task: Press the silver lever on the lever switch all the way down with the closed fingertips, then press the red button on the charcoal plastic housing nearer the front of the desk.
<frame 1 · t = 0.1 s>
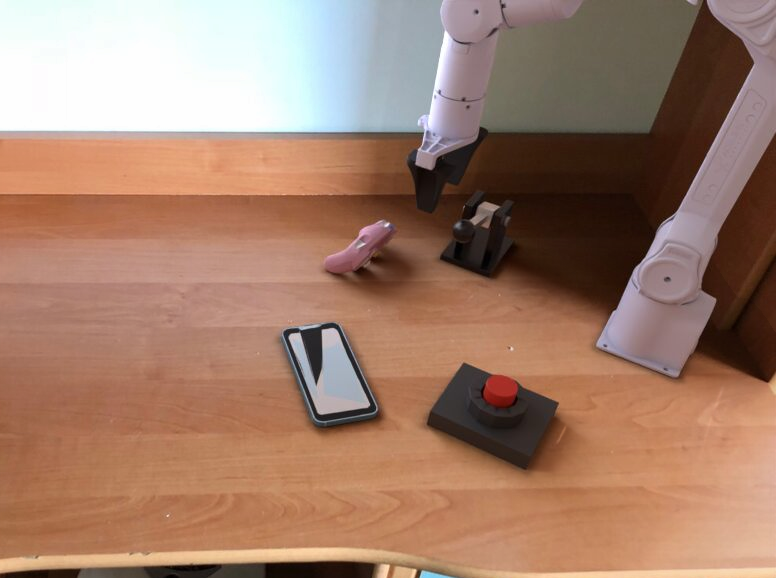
hand: (438, 195, 98), 10 cm above the table, tool pointing down, fingers open, 7 cm apart
button: (500, 391, 82), point 4 cm above the table, slide at 0.1 cm
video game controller: (359, 263, 105), on the table
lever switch: (476, 252, 107), on the table
press lever: (475, 222, 99), point 7 cm above the table, hinge at 15.0°
button box: (490, 420, 85), on the table
smartphone: (326, 375, 89), on the table
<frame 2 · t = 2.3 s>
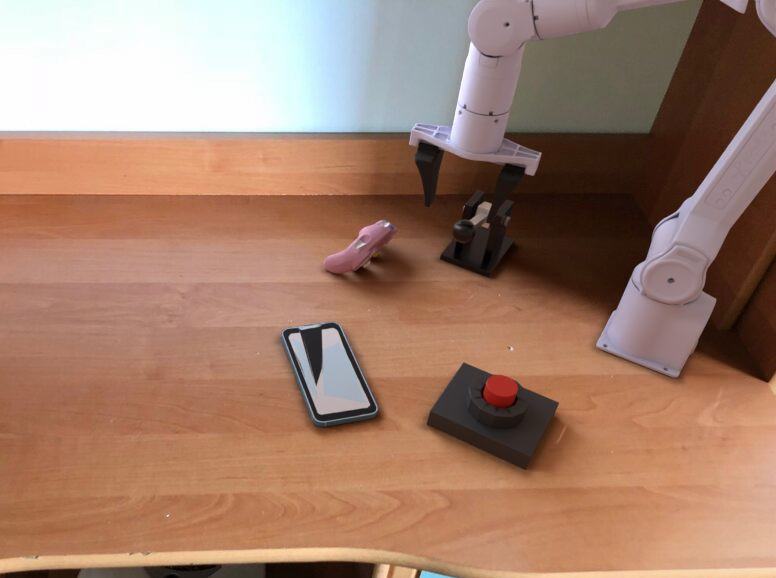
hand: (459, 211, 95), 10 cm above the table, tool pointing down, fingers open, 7 cm apart
nothing on the table moved.
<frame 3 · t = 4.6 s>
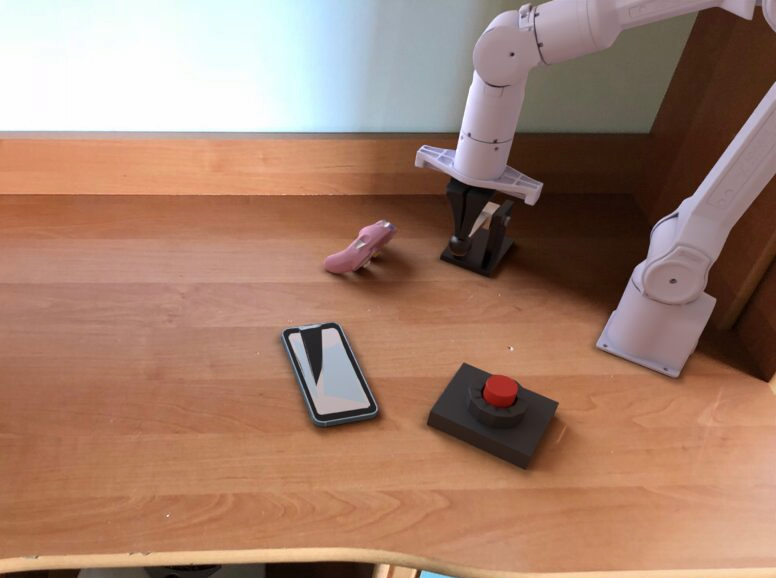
hand: (462, 234, 96), 8 cm above the table, tool pointing down, fingers closed, pressing on press lever
press lever: (473, 229, 100), point 6 cm above the table, hinge at 3.6°, touching gripper
everything else where it was.
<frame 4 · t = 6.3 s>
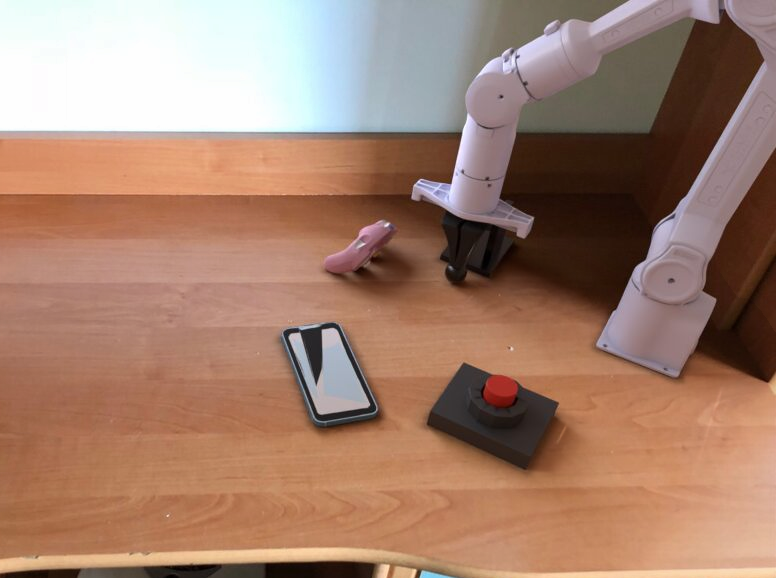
hand: (457, 263, 100), 3 cm above the table, tool pointing down, fingers closed, pressing on press lever
press lever: (471, 243, 102), point 4 cm above the table, hinge at -28.9°, touching gripper
everything else where it was.
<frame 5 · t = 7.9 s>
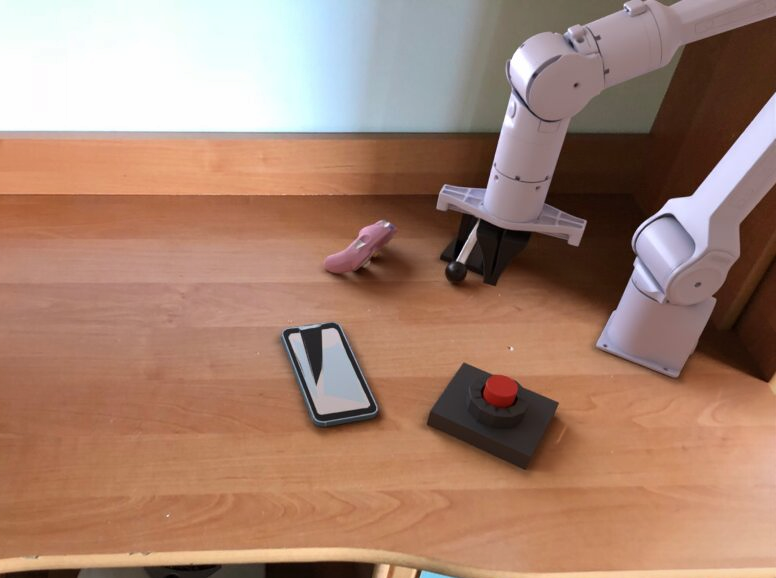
hand: (491, 279, 86), 10 cm above the table, tool pointing down, fingers closed
press lever: (471, 243, 102), point 4 cm above the table, hinge at -28.8°
everything else where it was.
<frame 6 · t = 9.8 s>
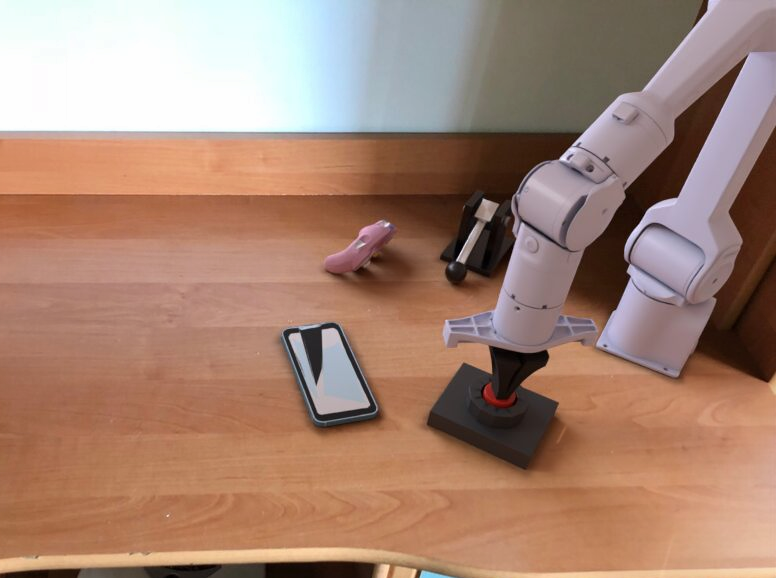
hand: (499, 392, 82), 4 cm above the table, tool pointing down, fingers closed, pressing on button
button: (498, 398, 83), point 3 cm above the table, slide at -0.9 cm, touching gripper
everything else where it was.
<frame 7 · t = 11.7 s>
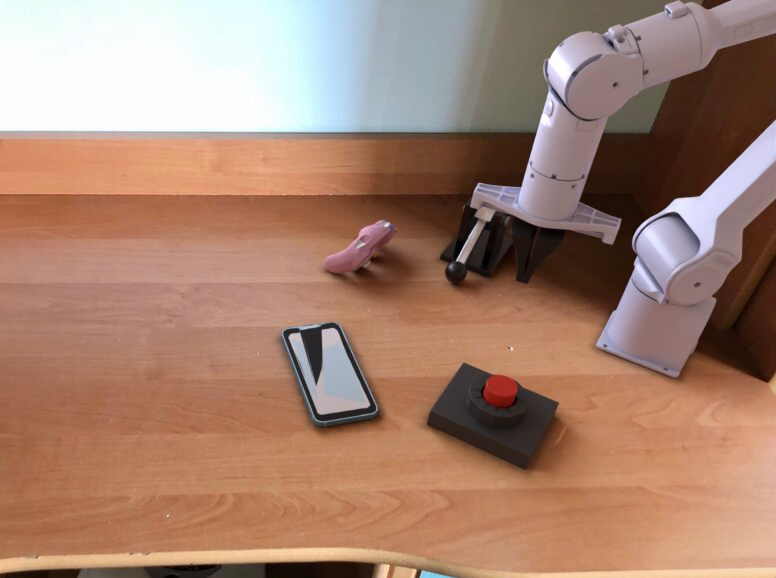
hand: (523, 277, 86), 10 cm above the table, tool pointing down, fingers closed
button: (500, 391, 82), point 4 cm above the table, slide at 0.1 cm
everything else where it was.
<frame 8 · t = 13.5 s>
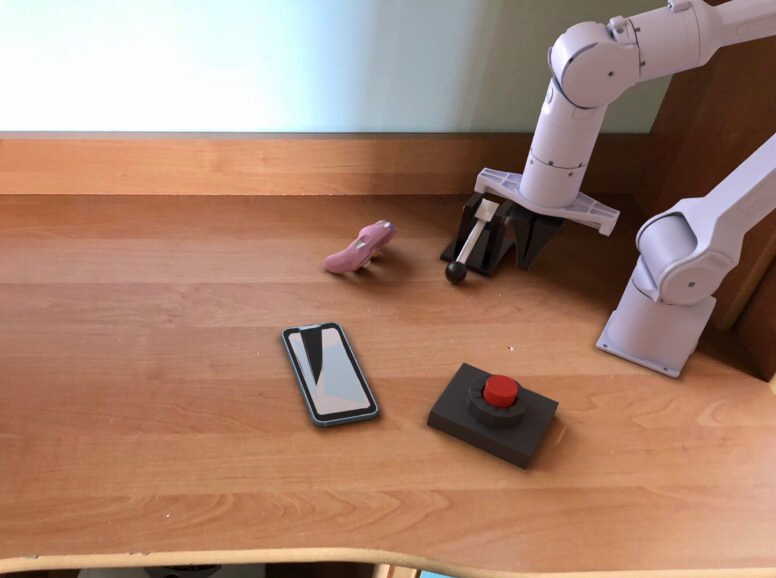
hand: (524, 265, 88), 10 cm above the table, tool pointing down, fingers closed
nothing on the table moved.
at the end: press lever at -29° (first picture: +15°); button pushed in 1.2 cm at the most during the clip, back to where it started at the end; button slide at 0.1 cm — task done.
